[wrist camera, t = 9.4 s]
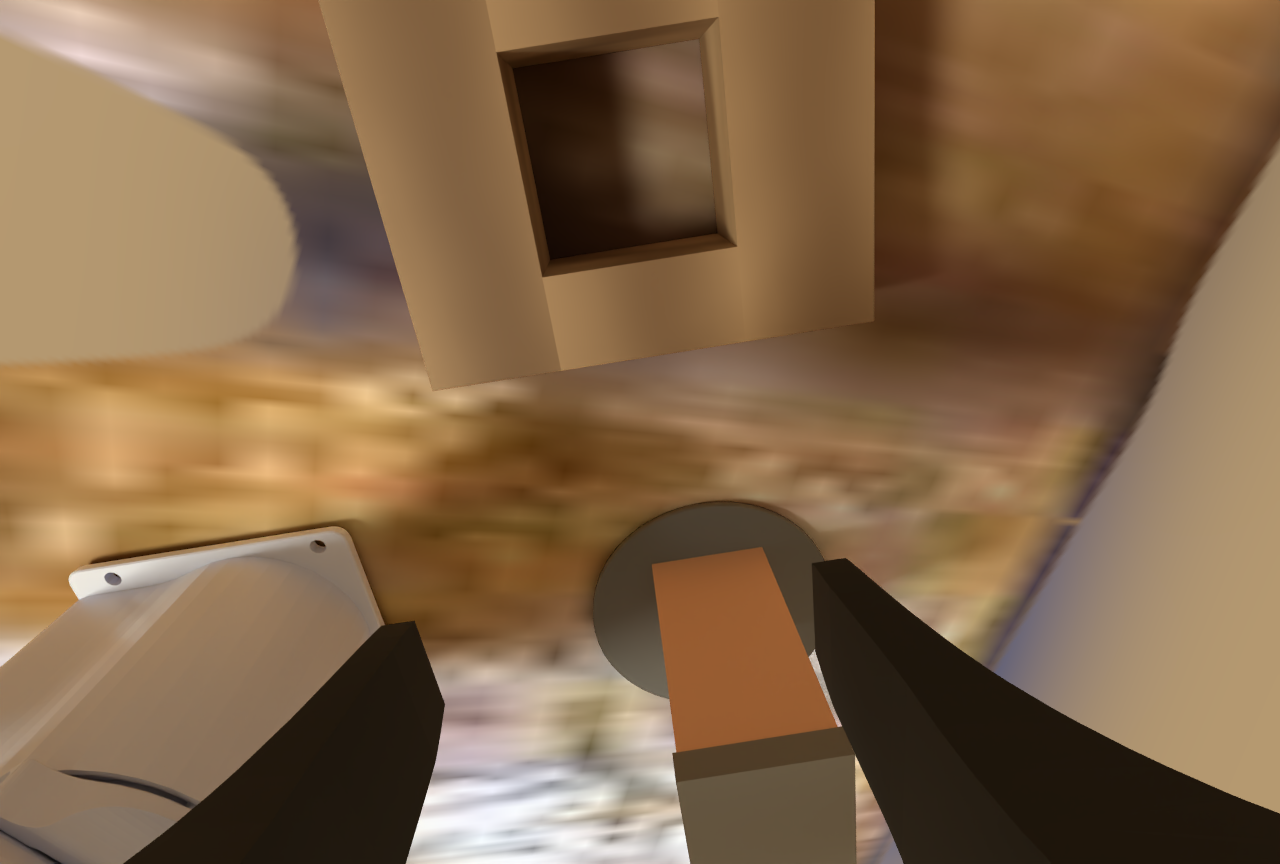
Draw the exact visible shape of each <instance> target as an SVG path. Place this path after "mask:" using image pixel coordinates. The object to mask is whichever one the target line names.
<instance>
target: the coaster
mask: <svg viewBox="0 0 1280 864" xmlns="http://www.w3.org/2000/svg"><path fill="white" fill-rule="evenodd" d="M758 547H762V548H763V550H764V553H765V555H766V557H767V560H768V562H769V565H770V567H771V569H772V572H773V574H774V576H775V579H776V581H777V584H778V586H779V588H780V591H781V593H782V596H783V598H784V600H785V603H786V605H787V607H788V610H789V612H790V615H791V617H792V619H793V622H794V624H795V627H796V629H797V631H798V634H799V636H800V638H801V641H802V643H803V646H804V648H805V650H806V653H807V655H808V657H809V656H810V654H811V653H812V652H813V650H814V649H815V632H814V608H813V584H812V563H816V562H823V561H824V559H823V557H822V555H821V553H820V551H819V550H818V548H817V547H816V545H815V544H814V543H813V541H812V540H811V539H810V538H809V537H808V535H807V534H806V533H805V532H804V531H803V530H802V529H800V528H799V527H798V526H797V525H795V524H794V523H793V522H791V521H790V520H788V519H786V518H785V517H783V516H781V515H779V514H777V513H775V512H772V511H770V510H767V509H765V508H762V507H758V506H754V505H750V504H744V503H737V502H708V503H699V504H694V505H690V506H685V507H681V508H678V509H676V510H673V511H670V512H667V513H665V514H663V515H661V516H658V517H656V518H654V519H652V520H651V521H649V522H647V523H646V524H644V525H643V526H641V527H639V528H638V529H637V530H636V531H634V532H633V533H632V534H631V535H629V536H628V537H627V538H626V539H625V540H624V541H623V542H622V543H621V544H620V545H619V546H618V547H617V548H616V549H615V551H614V552H613V554H612V555H611V556H610V558H609V559H608V560H607V562H606V564H605V566H604V568H603V570H602V572H601V574H600V577H599V579H598V582H597V585H596V590H595V595H594V608H593V620H594V627H595V633H596V636H597V639H598V642H599V645H600V647H601V649H602V651H603V653H604V655H605V656H606V658H607V659H608V660H609V662H610V663H611V665H612V666H613V667H614V668H615V669H616V670H617V671H618V672H619V673H620V674H621V675H622V676H623V677H625V678H626V679H627V680H628V681H630V682H631V683H633V684H634V685H636V686H638V687H639V688H641V689H643V690H645V691H647V692H650V693H652V694H654V695H657V696H660V697H663V698H667V699H669V691H668V684H667V676H666V669H665V661H664V654H663V646H662V639H661V631H660V624H659V616H658V609H657V601H656V594H655V586H654V578H653V571H652V564H656V563H663V562H669V561H676V560H682V559H688V558H695V557H701V556H707V555H714V554H720V553H726V552H733V551H739V550H745V549H752V548H758Z"/></svg>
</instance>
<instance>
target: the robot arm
mask: <svg viewBox="0 0 1280 864" xmlns="http://www.w3.org/2000/svg"><path fill="white" fill-rule="evenodd" d="M315 540H320V541H322V542H324V544H325V545H326V547H321V546H319V545H317V544H316V542H315ZM114 573H115V574H118V575H119V576H120V577H121V578H119V577H117V576H115V575H114ZM69 583H70V586H71V587H72V589H73V590H74V592H75V594H76V595H77V597H78V599H79V600H78V601H77V602H76V603H75V604H73V605H72V606H71V607H70V608H69V609H68V610H66V611H65V612H64V613H63V614H62V615H61V616H59V617H58V618H57V619H56V620H55V621H54V622H52V623H51V624H50V625H49V626H48V627H47V628H46V629H44V630H43V631H42V632H41V633H40V634H39V635H37V636H36V637H35V638H34V639H33V640H32V641H30V642H29V643H28V644H27V645H26V646H25V647H23V648H22V649H21V650H20V651H19V652H18V653H16V654H15V655H14V656H13V657H12V658H11V659H10V660H8V661H7V662H6V663H5V664H4V665H3V666H1V667H0V864H406V861H407V857H408V854H409V850H410V847H411V844H412V840H413V837H414V834H415V830H416V827H417V824H418V820H419V817H420V814H421V810H422V807H423V803H424V800H425V797H426V793H427V790H428V786H429V783H430V779H431V776H432V772H433V769H434V765H435V761H436V756H437V751H438V745H439V739H440V733H441V727H442V720H443V713H444V707H445V703H444V700H443V698H442V695H441V692H440V690H439V687H438V684H437V681H436V679H435V676H434V673H433V670H432V668H431V665H430V662H429V659H428V657H427V654H426V651H425V649H424V646H423V643H422V640H421V638H420V635H419V632H418V629H417V627H416V624H415V621H410V622H403V623H396V624H390V625H385V624H384V621H383V619H382V616H381V614H380V611H379V608H378V606H377V603H376V601H375V598H374V595H373V593H372V590H371V588H370V585H369V582H368V580H367V577H366V575H365V572H364V569H363V567H362V564H361V562H360V559H359V556H358V554H357V551H356V549H355V546H354V543H353V541H352V538H351V536H350V534H349V533H348V532H347V531H346V530H345V529H343V528H341V527H338V526H331V527H324V528H318V529H312V530H305V531H299V532H293V533H286V534H280V535H274V536H267V537H261V538H255V539H248V540H242V541H236V542H229V543H223V544H217V545H210V546H204V547H198V548H191V549H185V550H179V551H172V552H166V553H160V554H153V555H147V556H140V557H134V558H128V559H121V560H115V561H109V562H102V563H96V564H90V565H84V566H81V567H79V568H77V569H76V570H75V571H74V572H72V574H71V575H70V576H69ZM812 584H813V608H814V632H815V652H816V655H817V658H818V661H819V664H820V668H821V671H822V674H823V677H824V680H825V683H826V686H827V689H828V692H829V695H830V698H831V701H832V704H833V706H834V709H835V711H836V713H837V715H838V718H839V720H840V722H841V724H842V726H843V729H844V731H845V733H846V735H847V737H848V740H849V742H850V744H851V746H852V748H853V751H854V753H855V755H856V757H857V759H858V761H859V764H860V766H861V768H862V770H863V772H864V774H865V777H866V779H867V781H868V783H869V785H870V788H871V790H872V792H873V794H874V796H875V798H876V801H877V803H878V805H879V807H880V809H881V811H882V814H883V816H884V818H885V820H886V822H887V824H888V827H889V829H890V831H891V834H892V836H893V838H894V841H895V843H896V846H897V848H898V850H899V853H900V855H901V858H902V860H903V863H904V864H1280V814H1279V813H1277V812H1274V811H1272V810H1269V809H1266V808H1264V807H1261V806H1259V805H1256V804H1254V803H1251V802H1248V801H1245V800H1243V799H1241V798H1238V797H1236V796H1233V795H1231V794H1229V793H1226V792H1224V791H1221V790H1219V789H1217V788H1215V787H1212V786H1210V785H1208V784H1205V783H1203V782H1201V781H1199V780H1196V779H1194V778H1192V777H1190V776H1187V775H1185V774H1183V773H1181V772H1178V771H1176V770H1174V769H1171V768H1169V767H1167V766H1165V765H1163V764H1161V763H1158V762H1156V761H1154V760H1152V759H1150V758H1148V757H1146V756H1144V755H1142V754H1139V753H1137V752H1135V751H1133V750H1131V749H1129V748H1127V747H1125V746H1123V745H1121V744H1119V743H1117V742H1115V741H1113V740H1111V739H1109V738H1107V737H1105V736H1103V735H1102V734H1100V733H1098V732H1096V731H1094V730H1092V729H1090V728H1088V727H1086V726H1084V725H1082V724H1080V723H1078V722H1076V721H1075V720H1073V719H1071V718H1069V717H1067V716H1066V715H1064V714H1062V713H1060V712H1058V711H1056V710H1055V709H1053V708H1051V707H1049V706H1048V705H1046V704H1044V703H1043V702H1041V701H1039V700H1038V699H1036V698H1034V697H1033V696H1031V695H1029V694H1028V693H1026V692H1024V691H1023V690H1021V689H1019V688H1018V687H1016V686H1014V685H1013V684H1011V683H1009V682H1007V681H1006V680H1004V679H1003V678H1001V677H1000V676H998V675H997V674H995V673H994V672H992V671H990V670H989V669H987V668H986V667H984V666H983V665H982V664H980V663H979V662H977V661H976V660H974V659H973V658H971V657H970V656H969V655H967V654H966V653H964V652H963V651H961V650H960V649H959V648H957V647H956V646H954V645H953V644H952V643H950V642H949V641H948V640H946V639H945V638H944V637H942V636H941V635H940V634H938V633H937V632H936V631H934V630H933V629H932V628H931V627H929V626H928V625H927V624H925V623H924V622H923V621H921V620H920V619H919V618H918V617H916V616H915V615H914V614H912V613H911V612H910V611H909V610H907V609H906V608H905V607H904V606H903V605H901V604H900V603H899V602H898V601H896V600H895V599H894V598H893V597H892V596H890V595H889V594H888V593H887V592H886V591H884V590H883V589H882V588H881V587H880V586H879V585H877V584H876V583H875V582H874V581H873V580H871V579H870V578H869V577H868V576H867V575H866V574H864V573H863V572H862V571H861V570H860V569H859V568H857V567H856V566H855V565H854V564H853V563H851V562H850V561H849V560H848V559H846V558H843V559H836V560H829V561H823V562H816V563H812Z"/></svg>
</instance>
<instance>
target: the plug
mask: <svg viewBox="0 0 1280 864" xmlns="http://www.w3.org/2000/svg"><path fill="white" fill-rule="evenodd" d="M652 571H653V578H654V586H655V594H656V601H657V609H658V616H659V624H660V631H661V639H662V646H663V654H664V661H665V669H666V676H667V684H668V691H669V699H670V707H671V714H672V722H673V729H674V737H675V744H676V753H672V754H673V762H674V770H675V778H676V785H677V790H678V796H679V802H680V807H681V813H682V819H683V824H684V830H685V836H686V841H687V847H688V853H689V859H690V864H856V797H855V753H854V751H853V749H852V747H851V744H850V742H849V740H848V737H847V735H846V733H845V731H844V729H843V726H842V727H837V724H836V722H835V720H834V717H833V715H832V712H831V710H830V708H829V705H828V703H827V700H826V698H825V696H824V693H823V691H822V689H821V686H820V684H819V681H818V679H817V677H816V674H815V672H814V669H813V667H812V665H811V662H810V660H809V658H808V655H807V653H806V650H805V648H804V646H803V643H802V641H801V638H800V636H799V634H798V631H797V629H796V627H795V624H794V622H793V619H792V617H791V615H790V612H789V610H788V607H787V605H786V603H785V600H784V598H783V596H782V593H781V591H780V588H779V586H778V584H777V581H776V579H775V576H774V574H773V572H772V569H771V567H770V565H769V562H768V560H767V557H766V555H765V553H764V550H763V548H762V547H758V548H752V549H745V550H739V551H733V552H726V553H720V554H714V555H707V556H701V557H695V558H688V559H682V560H676V561H669V562H663V563H656V564H652Z"/></svg>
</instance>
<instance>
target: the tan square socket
mask: <svg viewBox="0 0 1280 864" xmlns="http://www.w3.org/2000/svg"><path fill="white" fill-rule="evenodd" d="M318 1H319V5H320V8H321V12H322V15H323V18H324V22H325V25H326V29H327V32H328V36H329V39H330V42H331V46H332V49H333V53H334V56H335V59H336V63H337V66H338V70H339V73H340V77H341V80H342V83H343V87H344V90H345V94H346V97H347V100H348V104H349V107H350V111H351V114H352V118H353V121H354V124H355V128H356V131H357V135H358V138H359V141H360V145H361V148H362V152H363V155H364V159H365V162H366V165H367V169H368V172H369V176H370V179H371V182H372V186H373V189H374V193H375V196H376V200H377V203H378V206H379V210H380V213H381V217H382V220H383V223H384V227H385V230H386V234H387V237H388V241H389V244H390V247H391V251H392V254H393V258H394V261H395V264H396V268H397V271H398V275H399V278H400V282H401V285H402V288H403V292H404V295H405V299H406V302H407V305H408V309H409V312H410V316H411V319H412V323H413V326H414V329H415V333H416V336H417V340H418V343H419V346H420V350H421V353H422V357H423V360H424V364H425V367H426V370H427V374H428V377H429V381H430V384H431V387H432V391H437V390H443V389H450V388H456V387H462V386H468V385H475V384H481V383H487V382H494V381H500V380H506V379H513V378H519V377H525V376H532V375H538V374H544V373H551V372H557V371H563V370H570V369H576V368H582V367H589V366H595V365H601V364H608V363H614V362H620V361H627V360H633V359H639V358H646V357H652V356H658V355H665V354H671V353H677V352H684V351H690V350H696V349H703V348H709V347H715V346H722V345H728V344H734V343H741V342H747V341H753V340H760V339H766V338H772V337H778V336H785V335H791V334H797V333H804V332H810V331H816V330H823V329H829V328H835V327H842V326H848V325H854V324H861V323H867V322H873V321H874V131H875V0H318ZM695 39H699V42H700V53H701V64H702V74H703V85H704V96H705V107H706V117H707V128H708V139H709V150H710V160H711V171H712V182H713V193H714V203H715V214H716V225H717V233H716V234H710V235H703V236H697V237H691V238H684V239H678V240H672V241H665V242H659V243H653V244H646V245H640V246H634V247H627V248H621V249H615V250H608V251H602V252H596V253H590V254H583V255H577V256H571V257H564V258H558V259H552V260H550V256H549V251H548V246H547V241H546V236H545V231H544V226H543V221H542V216H541V211H540V206H539V201H538V195H537V190H536V185H535V180H534V175H533V170H532V165H531V160H530V155H529V150H528V145H527V140H526V135H525V129H524V124H523V119H522V114H521V109H520V104H519V99H518V94H517V89H516V84H515V79H514V74H513V69H512V68H519V67H525V66H531V65H538V64H544V63H550V62H557V61H563V60H569V59H575V58H582V57H588V56H594V55H601V54H607V53H613V52H619V51H626V50H632V49H638V48H645V47H651V46H657V45H664V44H670V43H676V42H682V41H689V40H695Z"/></svg>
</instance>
